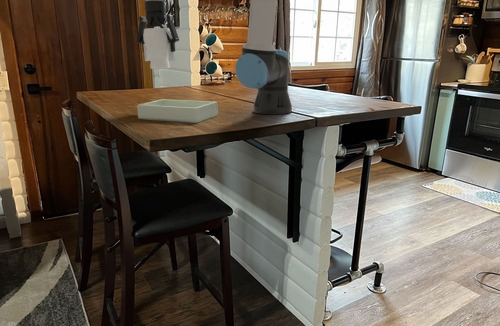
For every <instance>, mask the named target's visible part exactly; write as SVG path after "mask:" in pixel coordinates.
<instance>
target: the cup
mask: <svg viewBox="0 0 500 326" xmlns="http://www.w3.org/2000/svg"><path fill="white" fill-rule="evenodd" d="M146 28H147V27H146ZM146 28H145V29H144V34H143V38H144V43H145V46H146V48H147V50H148V51H149V54H150V59H151V61H150V63H149V65H150V66H149V67H150V70H151V69H152V70H153V69H154V70H155V69H156V70H158V69H161V70H162V69H170V68H171V65H170V61H169V55H168V42H169V41H168V39H167V34H166V31H170V29H169V27H167V28H160V27H154V28H147V29H146Z"/></svg>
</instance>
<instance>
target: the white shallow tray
mask: <svg viewBox="0 0 500 326" xmlns="http://www.w3.org/2000/svg"><path fill="white" fill-rule="evenodd" d="M218 103H219V102H218V101H209V100H187V99H185V100H184V99H164V98H161V99H157V100H154V101H148V102H145V103H140V104H136V107H137V118H138V120H147V121H148V120H149V121H161V122H162V121H163V122H164V121H165V122H177V123H178V122H179V123H194V124H199V123H200V122H204V121H206V120H209V119H211V118H214V117H216V116H217V117H218V116H219V107H218V105H219V104H218Z"/></svg>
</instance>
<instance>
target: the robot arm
mask: <svg viewBox="0 0 500 326" xmlns="http://www.w3.org/2000/svg"><path fill="white" fill-rule="evenodd" d="M277 4H278V0H250V8H249V18H248V31H247V40H246V43H245V44H244V45H243V46H242V47H241V55H240V56H239V58H238V59H237V60H236V62H235V66H234V72H235V76H236V79H237V80H238V82H239V83H240V85H241V86H243V87H245V88H247V89H255V90H257V93H256V95H255V99H254V103H253V107H252V111H253V113H256V114H261V115H283V114H284V115H285V114H289V113H291V112H293V104H292V101H291V99H290V95H289V89H288V88H289V62H290V60H289V53H288V52H287V51H286V50H282V49H276V48H275V46H274V45H273V38H274V32H275V30H274V29H275V22H276V13H277ZM144 9H145V10H144V11H145V14H146V15H145V16H142V15H141V16H139V18H138V19H139V24H138V25H139V26H138V34H137V38H136V39H137V40H136V42H137V43H140V44H141V46H142V47H141V48H142V53H143V56H144V62H149V61H150V62H151V58H150V54H149V51H148V50H147V48H146V46H145V43H144V38H143V34H144V29H147V28H169V30H170V31H166V34H167V39H168V41H169V42H168V61H169V62H170V61H171V62H172V61H174V62H175V52H176V43H177V42H179V41H180V38H179V35H178V31H177V29H176V27H175V23H174V17H173V15H172V14H166V3H165V0H144ZM166 23H167V24H166Z"/></svg>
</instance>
